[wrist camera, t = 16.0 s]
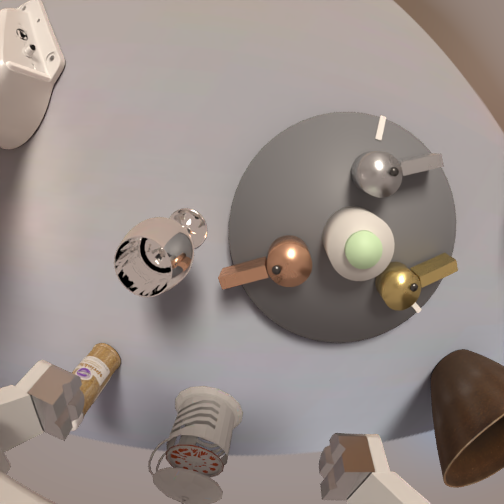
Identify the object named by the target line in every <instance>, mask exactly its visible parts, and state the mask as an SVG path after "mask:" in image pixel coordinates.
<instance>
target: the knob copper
mask: <svg viewBox="0 0 504 504" xmlns="http://www.w3.org/2000/svg"><path fill="white" fill-rule="evenodd" d="M311 271H312V259H311V256H310V253H309V250H308V247H307V245H306V244H305V242H304V241H303V240H301V239H300V238H298V237H296V236H291V235H287V236H282V237H279V238H278V239H276V240H275V241H274V242H273V243H272V244H271V246H270V248H269V250H268V257H267V259H266V256H265V257H262V258H258V259H254V260H251V261H247V262H243V263H240V264H236V265H232V266H229V267H225V268H223V269H222V271H221V273H220V275H219V277H218V279H219V282H220V284H221V287H222V290H223V289H227V288H231V287H234V286H238V285H242V284H246V283H250V282H254V281H257V280H261V279H265V278H269V276H270V278H271V279H272V280H273V281H274V282H275V283H277V284H278V285H281V286H284V287H295V286H298V285H300V284H302V283H303V282H305V281H306V280H307V279H308V277H309V276H310V274H311Z"/></svg>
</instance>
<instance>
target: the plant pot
mask: <svg viewBox="0 0 504 504" xmlns="http://www.w3.org/2000/svg"><path fill="white" fill-rule="evenodd" d="M431 400H432V413H433V422H434V430H435V438H436V444H437V450H438V455H439V460H440V465H441V469H442V475H443V480H444V483H445V484H446V485H447V486H449V487H464V486H468V485H471V484H474V483H477V482H479V481H481V480H483V479H486V478H488V477H489V476H491V475H493V474H495V473H496V472H498V471H499V470H501V469H502V468H504V366H502V365H501V364H499V363H497V362H495V361H493V360H491V359H489V358H487V357H484V356H482V355H480V354H477V353H474V352H472V351H469V350H465V349H462V350H457V351H454V352H452V353H450V354H449V355H447V356H446V357H444V358H443V359H442V360H441V361H440V362H439V363H438V365H437V366H436V367H435V369H434V371H433V373H432V376H431Z"/></svg>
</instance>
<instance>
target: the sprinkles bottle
mask: <svg viewBox="0 0 504 504" xmlns="http://www.w3.org/2000/svg"><path fill="white" fill-rule="evenodd" d="M120 362H121V360H120V357H119V355H118V353H117V352H116V351H115V349H113V348H112V347H111V346H109V345H107V344H104V343H99V344H96V345H95V346H94V347H93V349H92V351H91V352H90V353H89V354H88V355H87V356H86V357H85V358H84V359H83V360H82V361H81V362H80V364H79V365H78V366H77V367H76V368H75V369H74V371H73V372H72V373H73V374H75V375H77V376H79V377H81V382H82V385H81V387H80V390H81V391H82V392H83V394H84V399H85V400H84V408H83V411H82V413H81V415H80V417H79V418H78V419H76V420H74V421H72V426H73V428H72V430H71V431H75V430H76V429H77V428H78V427H79V425H80V424H81V423H82V421H83V418H84V415H85V414H86V412H87V411H88V409H89V408H90V407H91V405H92V404H93V403H94V402H95V401H96V399H97V398H98V396H99V395H100V393H101V392H102V390H103V389H104V387H105V386H106V384H107V383H108V382H109V380H110V378H111V376H112V374H113V373H114V372H115V370H116V369H118V367H119V366H120Z"/></svg>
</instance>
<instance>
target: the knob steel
mask: <svg viewBox="0 0 504 504" xmlns="http://www.w3.org/2000/svg"><path fill="white" fill-rule="evenodd" d="M440 167H444V165H443V160H442V155H441V154H437V153H428V154H423V155H419V156H414V157H409V158H405V159H400V160H397V159H396V158H395V157H394V156H393V155H391V154H390V153H387V152H383V151H369V152H364V153H362V154H360V155H359V156H358V157H357V158H356V159H355V161H354V162H353V165H352V169H351V174H352V179H353V181H354V183H355V185H356V186H357V187H358V188H359V189H360V190H361V191H363V192H365V193H368V194H370V195H372V196H374V197H378V198H384V197H388V196H391V195H392V194H394V193H395V192H396V191H397V190H398V188H399V187H400V185H401V182H402V176H406V175H410V174H414V173H418V172H422V171H427V170H431V169H435V168H440Z"/></svg>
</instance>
